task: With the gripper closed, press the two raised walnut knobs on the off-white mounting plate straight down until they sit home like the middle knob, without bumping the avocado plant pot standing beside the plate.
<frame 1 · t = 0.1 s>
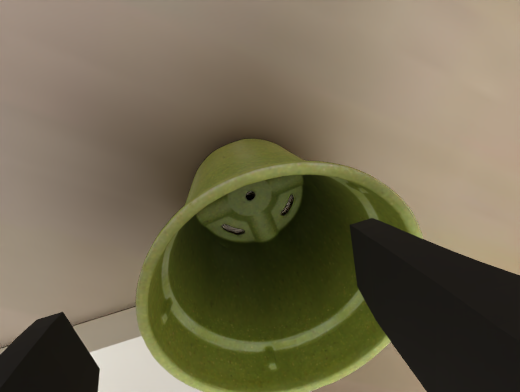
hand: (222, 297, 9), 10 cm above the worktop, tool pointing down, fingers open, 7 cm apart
plant pot: (247, 192, 19), on the worktop
mount plate: (127, 386, 23), on the worktop
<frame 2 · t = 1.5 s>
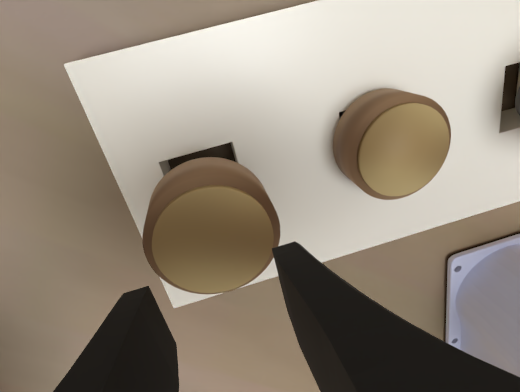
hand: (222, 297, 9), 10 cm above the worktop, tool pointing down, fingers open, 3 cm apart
knob middle: (376, 137, 16), point 3 cm above the worktop, slide at 0.0 cm
mount plate: (352, 125, 18), on the worktop
knob 2: (210, 211, 13), point 5 cm above the worktop, slide at 2.5 cm
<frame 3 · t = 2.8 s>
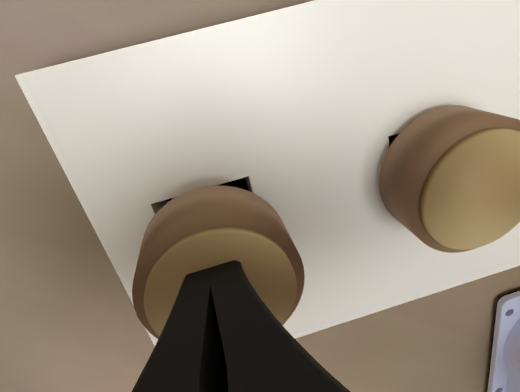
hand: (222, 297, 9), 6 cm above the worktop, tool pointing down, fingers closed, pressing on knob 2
knob middle: (434, 168, 12), point 3 cm above the worktop, slide at 0.0 cm
mount plate: (395, 147, 14), on the worktop
knob 2: (216, 249, 11), point 4 cm above the worktop, slide at 1.0 cm, touching gripper
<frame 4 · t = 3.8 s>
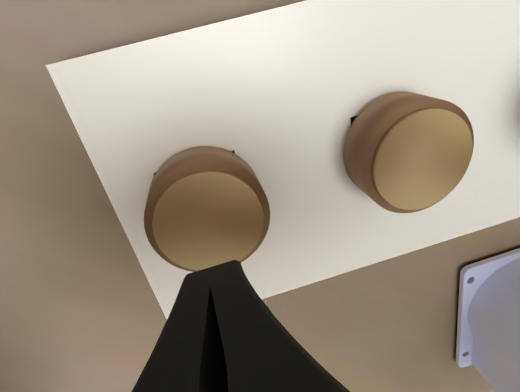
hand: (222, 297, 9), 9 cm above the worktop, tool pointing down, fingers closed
knob middle: (390, 145, 15), point 3 cm above the worktop, slide at 0.0 cm
mount plate: (362, 130, 17), on the worktop
knob 2: (206, 197, 14), point 3 cm above the worktop, slide at -0.1 cm
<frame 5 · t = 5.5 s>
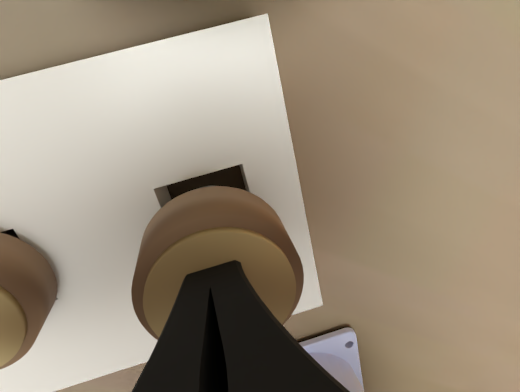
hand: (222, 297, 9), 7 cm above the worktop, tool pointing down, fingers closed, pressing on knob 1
mount plate: (21, 242, 14), on the worktop
knob 1: (215, 249, 11), point 5 cm above the worktop, slide at 2.2 cm, touching gripper
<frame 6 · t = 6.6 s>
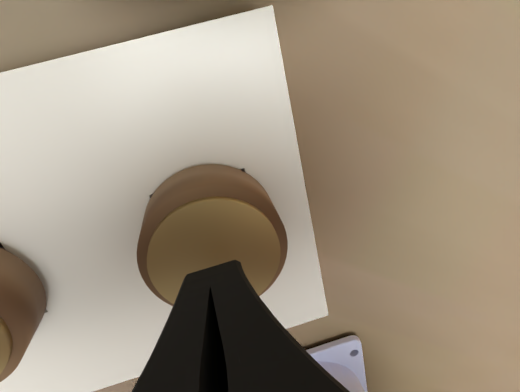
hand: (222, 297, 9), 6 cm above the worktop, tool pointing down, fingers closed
mount plate: (9, 249, 14), on the worktop
knob 1: (210, 222, 12), point 3 cm above the worktop, slide at -0.1 cm
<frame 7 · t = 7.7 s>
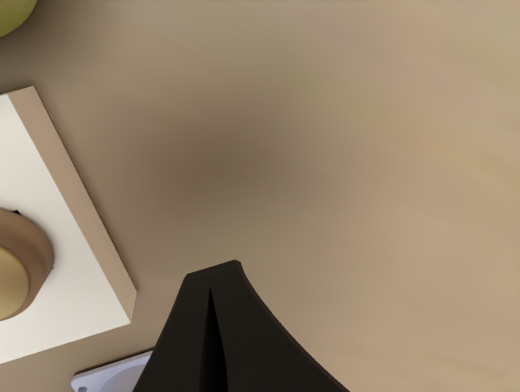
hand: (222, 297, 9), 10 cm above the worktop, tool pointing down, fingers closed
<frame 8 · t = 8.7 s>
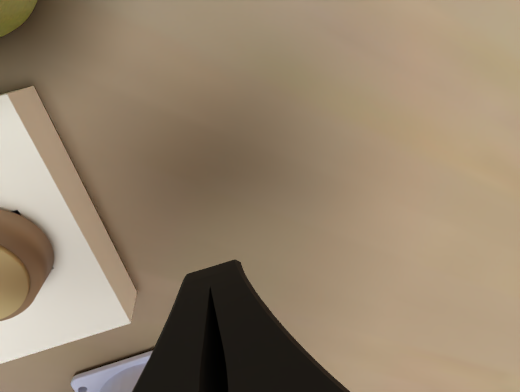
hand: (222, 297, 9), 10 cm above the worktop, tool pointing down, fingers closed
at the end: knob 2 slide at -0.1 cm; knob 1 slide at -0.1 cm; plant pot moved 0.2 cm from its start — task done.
